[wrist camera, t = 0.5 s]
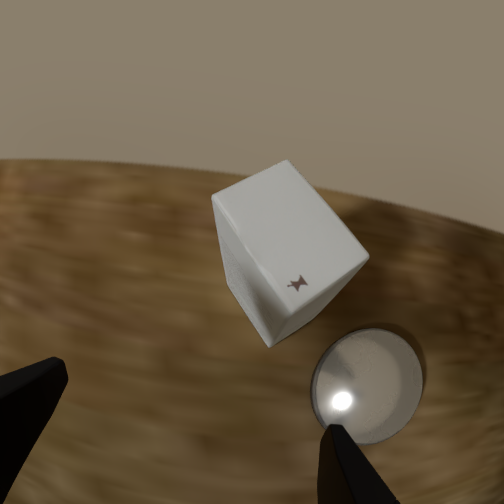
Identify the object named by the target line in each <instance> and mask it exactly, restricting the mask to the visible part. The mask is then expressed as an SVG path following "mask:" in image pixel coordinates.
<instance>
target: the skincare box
mask: <svg viewBox="0 0 504 504" xmlns="http://www.w3.org/2000/svg"><path fill="white" fill-rule="evenodd" d="M212 203H213V209H214V215H215V221H216V227H217V232H218V238H219V243H220V249H221V254H222V259H223V265H224V269H225V275H226V280H227V285H228V286H229V288H230V290H231V291H232V293H233V294H234V296H235V297H236V299H237V301H238V302H239V304H240V305H241V307H242V308H243V310H244V311H245V313H246V314H247V316H248V317H249V319H250V321H251V322H252V324H253V325H254V327H255V328H256V330H257V331H258V333H259V334H260V336H261V337H262V339H263V340H264V342H265V343H266V345H267V346H268V347H269V348H270V347H272V346H273V345H275V344H276V343H278V342H280V341H281V340H283V339H284V338H286V337H287V336H289V335H290V334H292V333H293V332H295V331H296V330H298V329H299V328H301V327H302V326H304V325H305V324H306V323H308V322H309V321H311V320H312V319H313V318H315V317H316V315H317V314H318V313H319V312H321V311H322V309H323V308H324V307H325V306H326V305H327V304H328V303H329V302H330V301H331V300H332V299H333V298H334V297H335V296H336V295H337V294H338V293H339V291H340V290H341V289H342V288H343V287H344V286H345V285H346V284H347V283H348V282H349V281H350V280H351V279H352V277H353V276H354V275H355V274H356V273H357V272H358V271H359V270H360V268H361V267H362V266H363V265H364V264H365V263H366V262H367V260H368V259H369V253H368V252H367V251H366V250H365V249H364V247H363V246H362V245H361V244H360V242H359V241H358V240H357V239H356V237H355V236H354V235H353V234H352V232H351V231H350V230H349V229H348V227H347V226H346V225H345V224H344V223H343V221H342V220H341V219H340V218H339V217H338V215H337V214H336V213H335V212H334V211H333V210H332V208H331V207H330V206H329V205H328V204H327V203H326V202H325V200H324V199H323V198H322V197H321V196H320V195H319V194H318V193H317V191H316V190H315V189H314V188H313V187H312V186H311V185H310V183H309V182H308V181H307V180H306V179H305V178H304V177H303V176H302V175H301V173H300V172H298V170H297V169H296V168H295V167H294V166H293V165H292V163H291V162H290V161H289V160H287V159H286V160H284V161H282V162H280V163H278V164H276V165H274V166H272V167H270V168H268V169H265V170H263V171H261V172H259V173H257V174H255V175H252V176H250V177H248V178H246V179H244V180H242V181H240V182H238V183H236V184H234V185H232V186H230V187H228V188H226V189H224V190H221V191H219V192H217V193H215V194H213V195H212Z"/></svg>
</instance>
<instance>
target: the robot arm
mask: <svg viewBox="0 0 504 504" xmlns="http://www.w3.org/2000/svg"><path fill="white" fill-rule="evenodd" d="M67 383H68V374H67V370H66V366H65V363H64V361H63V360H62V359H59V358H57V357H51V358H48V359H45V360H43V361H40V362H37V363H34V364H32V365H29V366H26V367H24V368H21V369H18V370H15V371H13V372H10V373H7V374H4V375H2V376H0V504H3V502H4V500H5V498H6V496H7V494H8V492H9V490H10V488H11V486H12V484H13V483H14V481H15V479H16V477H17V475H18V473H19V471H20V469H21V468H22V466H23V464H24V462H25V460H26V459H27V457H28V455H29V453H30V451H31V450H32V448H33V446H34V444H35V443H36V441H37V439H38V438H39V436H40V434H41V433H42V431H43V429H44V428H45V426H46V424H47V423H48V421H49V419H50V418H51V416H52V414H53V412H54V410H55V408H56V406H57V404H58V402H59V399H60V397H61V395H62V393H63V391H64V389H65V387H66V385H67ZM317 495H318V504H400V502H399V501H398V500H396V497H395V496H394V495H393V493H392V492H391V491H390V489H389V488H388V487H387V485H386V484H385V483H384V481H383V480H382V479H381V477H380V476H379V475H378V473H377V472H376V470H375V469H374V468H373V466H372V465H371V464H370V462H369V461H368V460H367V458H366V457H365V455H364V454H363V453H362V451H361V450H360V449H359V447H358V446H357V444H356V443H355V442H354V440H353V439H352V438H351V436H350V435H349V433H348V432H347V431H346V429H345V428H344V426H343V425H341V424H329V425H328V427H327V429H326V431H325V433H324V435H323V437H322V439H321V442H320V453H319V467H318V479H317Z"/></svg>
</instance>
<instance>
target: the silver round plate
mask: <svg viewBox="0 0 504 504" xmlns="http://www.w3.org/2000/svg"><path fill="white" fill-rule="evenodd" d="M422 385H423V378H422V370H421V366H420V363H419V360H418V358H417V355H416V354H415V352H414V350H413V349H412V348H411V346H410V345H409V344H408V343H407V342H406V341H405V340H404V339H403V338H401V337H400V336H398V335H396V334H395V333H393V332H390V331H387V330H383V329H376V328H370V329H362V330H358V331H355V332H352V333H350V334H348V335H346V336H344V337H342V338H340V339H339V340H337V341H336V342H334V343H333V344H332V345H331V346H330V347H329V348H328V349H327V350H326V351H325V352H324V354H323V355H322V357H321V358H320V359H319V361H318V363H317V365H316V367H315V370H314V373H313V376H312V380H311V387H310V398H311V404H312V408H313V411H314V414H315V416H316V418H317V420H318V421H319V423H320V424H321V426H322V427H323V428H324V429H325V430H326V429H327V427H328V425H329V424H341V425H343V426H344V428H345V429H346V431H347V432H348V433H349V435H350V436H351V438H352V439H353V440H354V442H355V443H356V444H357V445H371V444H376V443H379V442H382V441H385V440H387V439H389V438H390V437H392V436H394V435H395V434H397V433H398V432H399V431H400V430H401V429H402V428H403V427H404V426H405V425H406V424H407V423H408V422H409V420H410V419H411V418H412V416H413V414H414V413H415V411H416V409H417V406H418V404H419V401H420V398H421V393H422Z"/></svg>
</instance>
